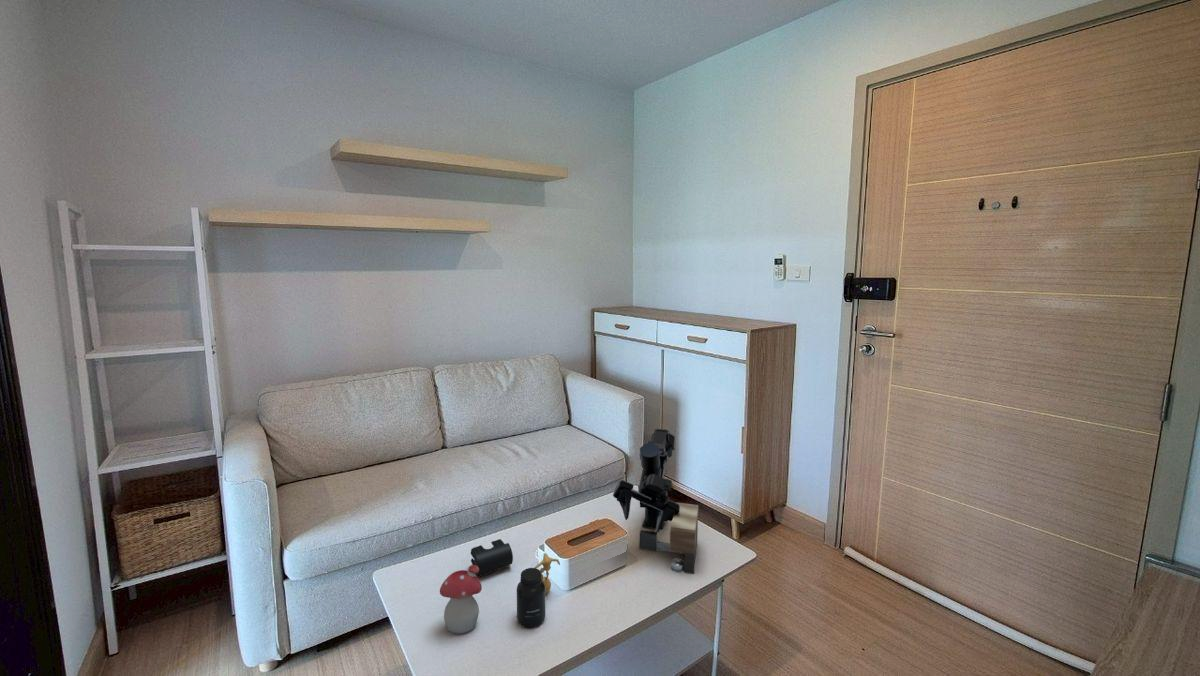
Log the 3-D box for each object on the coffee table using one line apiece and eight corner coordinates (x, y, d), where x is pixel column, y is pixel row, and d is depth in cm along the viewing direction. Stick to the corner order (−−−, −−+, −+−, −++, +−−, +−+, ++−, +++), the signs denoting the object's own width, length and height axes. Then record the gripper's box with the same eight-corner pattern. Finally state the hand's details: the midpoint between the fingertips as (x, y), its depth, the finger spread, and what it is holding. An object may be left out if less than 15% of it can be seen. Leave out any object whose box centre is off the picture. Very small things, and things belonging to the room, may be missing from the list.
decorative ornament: (486, 616, 121) (483, 560, 119) (477, 637, 115) (475, 577, 112) (448, 615, 122) (445, 558, 119) (438, 635, 115) (434, 576, 113)
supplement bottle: (531, 633, 116) (530, 586, 114) (511, 620, 120) (509, 575, 118) (551, 616, 121) (550, 571, 119) (531, 604, 125) (530, 561, 123)
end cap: (478, 583, 134) (477, 560, 132) (470, 569, 140) (468, 547, 138) (513, 570, 139) (512, 548, 138) (503, 557, 145) (503, 536, 144)
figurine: (554, 582, 134) (554, 541, 132) (564, 595, 128) (563, 553, 126) (525, 592, 130) (524, 550, 128) (534, 606, 124) (533, 563, 122)
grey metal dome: (671, 563, 142) (672, 557, 141) (684, 565, 141) (684, 559, 141) (670, 571, 138) (670, 565, 138) (683, 573, 137) (683, 567, 137)
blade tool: (640, 544, 151) (640, 529, 150) (686, 551, 147) (686, 535, 146) (639, 548, 149) (639, 533, 148) (685, 555, 145) (686, 539, 145)
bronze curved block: (674, 542, 152) (675, 502, 150) (697, 545, 150) (698, 505, 148) (668, 570, 139) (669, 526, 137) (693, 573, 137) (695, 530, 135)
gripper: (631, 452, 145) (621, 496, 132) (690, 478, 145) (685, 524, 133) (617, 474, 151) (606, 518, 139) (673, 498, 152) (668, 544, 139)
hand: (641, 525), depth 137 cm, fingers open, 9 cm apart
